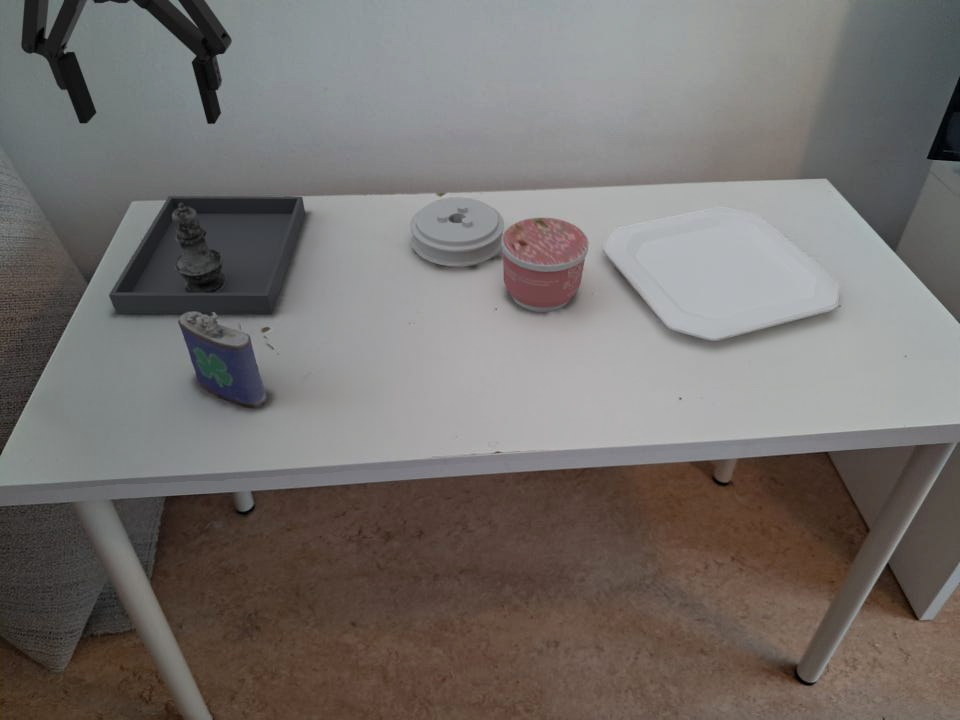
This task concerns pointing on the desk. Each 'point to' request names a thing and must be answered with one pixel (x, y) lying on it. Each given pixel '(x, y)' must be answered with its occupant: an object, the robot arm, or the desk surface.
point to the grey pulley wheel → (457, 232)
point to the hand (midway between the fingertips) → (151, 118)
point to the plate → (720, 272)
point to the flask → (223, 360)
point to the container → (543, 262)
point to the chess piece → (196, 254)
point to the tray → (230, 230)
